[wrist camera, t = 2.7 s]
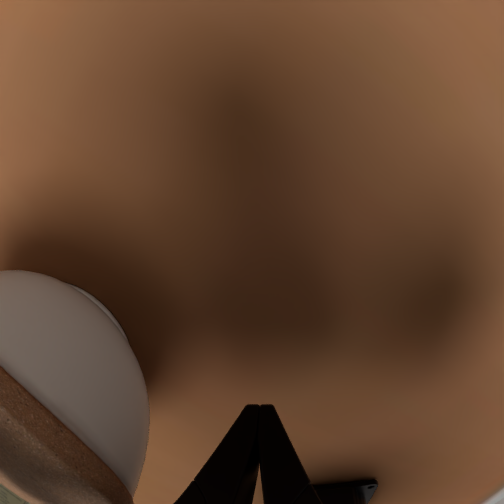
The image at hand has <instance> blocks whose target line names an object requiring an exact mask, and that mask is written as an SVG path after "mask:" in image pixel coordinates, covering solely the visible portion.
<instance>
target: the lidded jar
mask: <svg viewBox="0 0 504 504" xmlns="http://www.w3.org/2000/svg"><path fill="white" fill-rule="evenodd" d="M149 426H150V409H149V399H148V393H147V388H146V384H145V380H144V377H143V373H142V371H141V368H140V365H139V363H138V360H137V358H136V356H135V355H134V353H133V351H132V349H131V347H130V345H129V342H128V339H127V337H126V335H125V333H124V331H123V329H122V327H121V326H120V324H119V323H118V321H117V320H116V318H115V317H114V316H113V315H112V313H111V312H110V311H109V310H108V309H107V308H106V307H105V306H104V305H103V304H102V303H101V302H100V301H98V300H97V299H96V298H95V297H94V296H92V295H91V294H89V293H88V292H86V291H84V290H83V289H81V288H79V287H77V286H74V285H71V284H68V283H64V282H62V281H60V280H58V279H56V278H53V277H50V276H47V275H45V274H41V273H36V272H30V271H24V270H7V271H0V483H1V484H2V485H3V486H5V487H6V488H7V489H9V490H10V491H12V492H13V493H15V494H16V495H18V496H19V497H21V498H22V499H24V500H25V501H27V502H29V503H30V504H134V503H133V497H134V494H135V491H136V489H137V486H138V482H139V479H140V475H141V472H142V468H143V465H144V461H145V456H146V451H147V445H148V440H149Z"/></svg>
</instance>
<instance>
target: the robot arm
mask: <svg viewBox="0 0 504 504" xmlns="http://www.w3.org/2000/svg"><path fill="white" fill-rule="evenodd" d="M259 463H260V473H261V482H262V491H263V500H264V504H368V502H369V501H370V499H371V497H372V495H373V494H374V492H375V490H376V488H377V487H378V483H377V480H368V481H361V482H354V483H346V484H338V485H328V486H316V487H313V486H312V484H311V482H310V480H309V478H308V476H307V474H306V472H305V470H304V468H303V466H302V464H301V462H300V460H299V458H298V456H297V454H296V452H295V449H294V447H293V445H292V443H291V441H290V439H289V437H288V435H287V433H286V431H285V429H284V427H283V424H282V422H281V420H280V418H279V416H278V414H277V412H276V409H275V407H274V406H273V405H272V404H262V405H260V406H259V405H258V404H248V405H246V406H245V407H244V409H243V410H242V412H241V413H240V415H239V416H238V418H237V419H236V421H235V422H234V424H233V425H232V427H231V428H230V430H229V431H228V433H227V434H226V435H225V437H224V438H223V440H222V441H221V443H220V444H219V445H218V447H217V448H216V450H215V451H214V452H213V454H212V455H211V457H210V458H209V459H208V461H207V462H206V463H205V465H204V466H203V468H202V469H201V470H200V472H199V473H198V474H197V476H196V477H195V478H194V481H192V482H191V483H190V485H189V486H188V487H187V489H186V490H185V491H184V492H183V493H182V495H181V496H180V497H179V498H178V499H177V500H176V501H175V503H174V504H252V501H253V496H254V491H255V486H256V481H257V476H258V471H259Z"/></svg>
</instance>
